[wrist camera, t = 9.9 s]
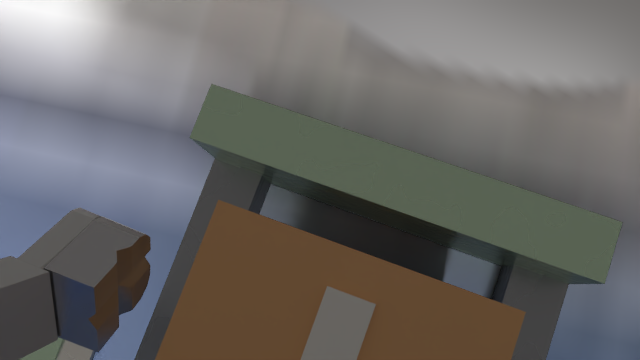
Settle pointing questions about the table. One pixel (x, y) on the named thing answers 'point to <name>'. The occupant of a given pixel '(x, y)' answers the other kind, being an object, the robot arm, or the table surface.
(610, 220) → the switch channel
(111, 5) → the table surface
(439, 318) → the orange brown box
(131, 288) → the robot arm
